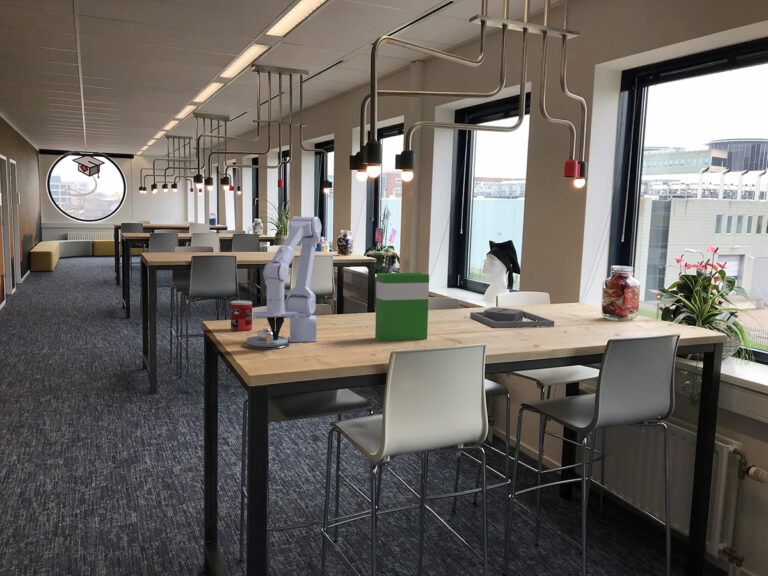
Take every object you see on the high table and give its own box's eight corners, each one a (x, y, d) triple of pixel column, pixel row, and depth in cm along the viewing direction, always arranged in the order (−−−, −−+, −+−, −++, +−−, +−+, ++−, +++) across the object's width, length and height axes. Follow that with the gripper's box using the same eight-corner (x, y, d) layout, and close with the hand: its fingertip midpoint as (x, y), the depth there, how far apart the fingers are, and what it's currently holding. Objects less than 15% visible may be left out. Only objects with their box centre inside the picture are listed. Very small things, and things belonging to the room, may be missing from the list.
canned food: (229, 328, 241) (229, 300, 240) (249, 327, 244) (249, 300, 243) (232, 332, 234) (232, 303, 233) (253, 331, 237) (253, 302, 236)
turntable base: (287, 340, 222) (287, 338, 222) (291, 349, 207) (291, 347, 207) (244, 341, 218) (244, 340, 218) (245, 350, 204) (245, 348, 204)
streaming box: (493, 318, 283) (493, 307, 283) (524, 321, 276) (524, 310, 275) (481, 322, 271) (481, 310, 270) (513, 326, 264) (514, 314, 263)
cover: (275, 337, 216) (275, 327, 216) (276, 341, 210) (276, 330, 210) (257, 338, 215) (257, 327, 214) (258, 341, 209) (258, 330, 208)
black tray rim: (524, 316, 289) (525, 311, 289) (554, 326, 263) (554, 321, 263) (470, 317, 282) (470, 312, 282) (494, 328, 256) (494, 322, 256)
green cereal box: (419, 335, 236) (420, 272, 234) (427, 339, 229) (429, 274, 227) (375, 337, 230) (376, 273, 227) (382, 341, 223) (383, 275, 221)
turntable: (245, 339, 218) (245, 327, 217) (286, 338, 221) (286, 326, 221) (246, 348, 203) (246, 335, 203) (289, 347, 207) (290, 334, 206)
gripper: (253, 301, 200) (253, 342, 201) (298, 300, 203) (298, 341, 205) (252, 298, 207) (252, 338, 208) (296, 297, 210) (296, 337, 212)
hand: (275, 339), depth 207 cm, fingers closed
